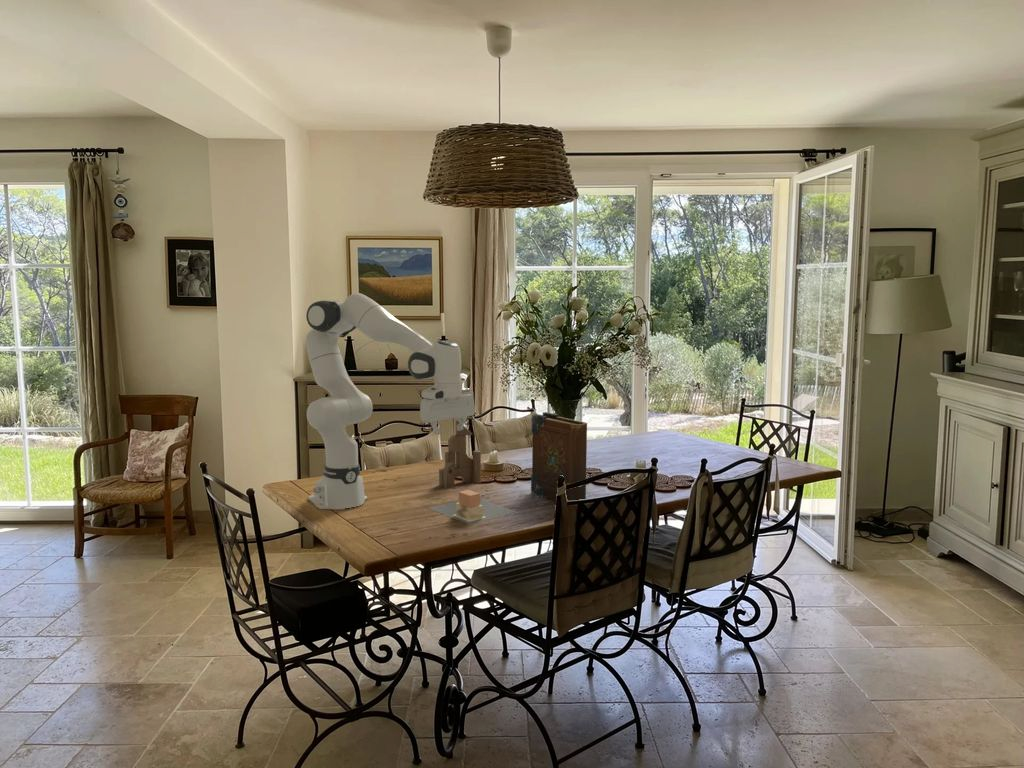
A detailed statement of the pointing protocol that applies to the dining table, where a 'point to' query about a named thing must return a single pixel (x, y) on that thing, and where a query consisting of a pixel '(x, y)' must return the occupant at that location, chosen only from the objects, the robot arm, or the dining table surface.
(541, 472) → the decorative book
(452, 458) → the wooden toy
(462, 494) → the brick top
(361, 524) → the dining table surface
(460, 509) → the brick base
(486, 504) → the build board
